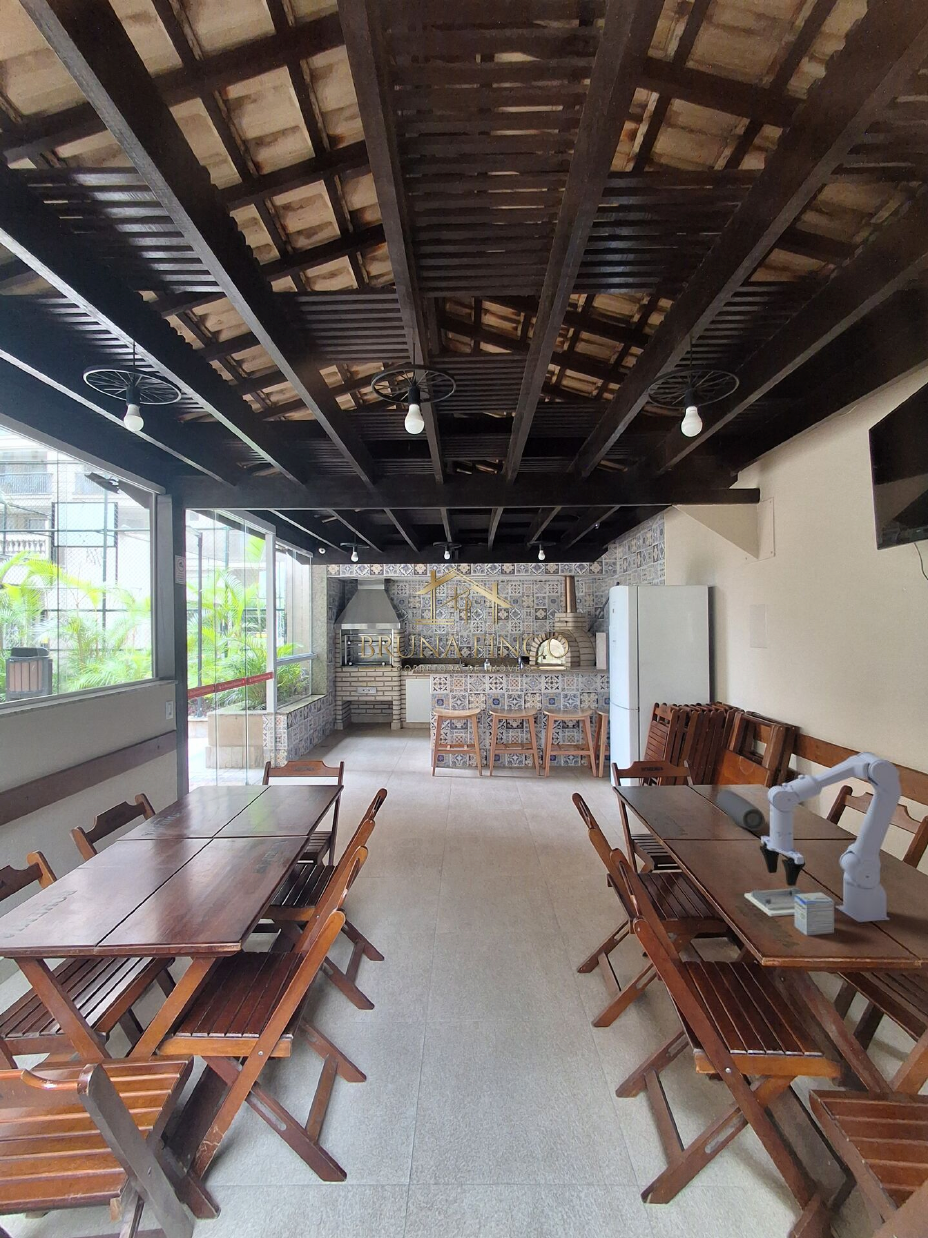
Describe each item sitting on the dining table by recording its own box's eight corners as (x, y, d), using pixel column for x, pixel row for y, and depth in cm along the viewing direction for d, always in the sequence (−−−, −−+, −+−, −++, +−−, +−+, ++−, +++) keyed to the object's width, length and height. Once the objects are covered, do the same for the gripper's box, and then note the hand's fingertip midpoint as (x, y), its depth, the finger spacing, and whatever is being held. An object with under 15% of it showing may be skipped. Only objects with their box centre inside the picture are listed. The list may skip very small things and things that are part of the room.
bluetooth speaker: (766, 834, 206) (766, 807, 206) (741, 834, 207) (741, 807, 207) (737, 812, 229) (737, 788, 229) (715, 812, 229) (715, 788, 229)
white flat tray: (791, 892, 162) (791, 882, 162) (820, 912, 151) (820, 901, 151) (744, 896, 160) (744, 885, 160) (770, 916, 149) (770, 905, 149)
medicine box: (821, 924, 145) (821, 891, 145) (834, 934, 141) (834, 900, 141) (793, 927, 144) (793, 893, 144) (806, 936, 140) (806, 902, 140)
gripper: (751, 822, 162) (751, 868, 162) (786, 841, 148) (787, 892, 148) (773, 820, 163) (773, 866, 163) (810, 840, 149) (810, 890, 149)
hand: (781, 878), depth 156 cm, fingers open, 7 cm apart
